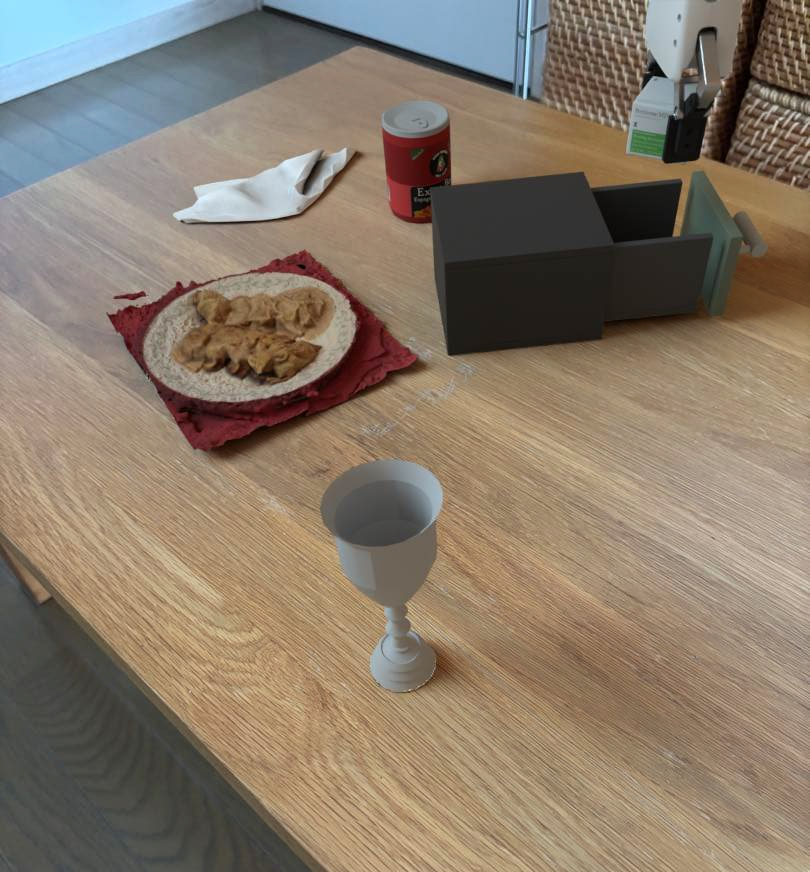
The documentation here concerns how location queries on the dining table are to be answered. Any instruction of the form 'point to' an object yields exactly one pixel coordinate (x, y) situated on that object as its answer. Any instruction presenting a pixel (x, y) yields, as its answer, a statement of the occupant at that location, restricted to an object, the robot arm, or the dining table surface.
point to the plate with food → (256, 348)
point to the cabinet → (520, 262)
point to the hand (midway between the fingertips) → (667, 137)
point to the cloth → (267, 190)
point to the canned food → (415, 156)
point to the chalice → (388, 554)
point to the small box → (652, 118)
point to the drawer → (672, 247)
